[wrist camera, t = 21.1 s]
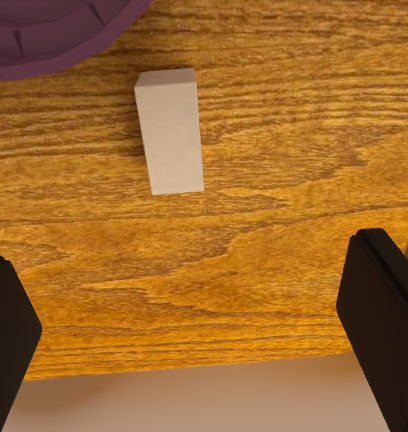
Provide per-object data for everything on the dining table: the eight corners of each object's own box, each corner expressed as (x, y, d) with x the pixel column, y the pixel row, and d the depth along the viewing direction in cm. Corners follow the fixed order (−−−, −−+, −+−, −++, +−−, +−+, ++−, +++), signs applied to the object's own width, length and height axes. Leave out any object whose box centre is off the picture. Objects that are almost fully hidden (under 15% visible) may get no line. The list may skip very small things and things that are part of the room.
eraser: (140, 71, 20) (133, 86, 17) (193, 67, 20) (196, 81, 17) (155, 168, 23) (151, 195, 20) (201, 165, 23) (204, 191, 20)
